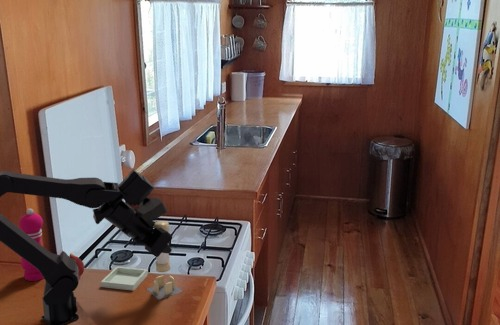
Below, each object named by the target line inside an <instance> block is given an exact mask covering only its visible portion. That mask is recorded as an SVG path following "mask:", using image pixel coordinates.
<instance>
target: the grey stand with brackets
mask: <svg viewBox="0 0 500 325" xmlns="http://www.w3.org/2000/svg"><path fill="white" fill-rule="evenodd" d="M164 276H165V275H164V274H163V275H159V276H156V277H155V278H156V279H155V280H153V286H151V287H149V288H146V291H148V292H149V293H150V294H151V295H153V296H154V298H156V299H157V300H163V299H165V298H168V297H172V296H174V295H177V294H182V293H183V292H184V291H183V290H182V289H180V288H179V287H178V286H177V285H176V283H175V282H176V281H175V278H174V277H173V276H172V275H169V281H167V282H165V277H164Z"/></svg>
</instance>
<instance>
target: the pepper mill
mask: <svg viewBox="0 0 500 325" xmlns="http://www.w3.org/2000/svg"><path fill="white" fill-rule="evenodd" d="M43 224H44V219H43V217H42V216H41V215H40V214H38V213H34V209H33V208H27V209H26V214H24V215H22V216H21V217H20V219H19V222H18V228H20V229H21V230H22V231H23V232H25V233H26V234H27V235H29V236H30V237H31V238H32V239H34V240H35V241H36V242H38V243H39V244H40V245H42V246H43V244H42V240H41V236H43V232H42V231H43V230H42V228H43ZM20 266H21V268H22V269H23V270H24V271H23V278H24V280H25V281H29V282H37V281H41V280H43V279H44V277H43V276H42V274H41V273H40V271H39V270H38V269H37V268H35V267H34V266H33V265H31V264H30V263H29V262H27V261H26V260H25V259H23V258H22V257H21V260H20ZM44 280H45V279H44Z"/></svg>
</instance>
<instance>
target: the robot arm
mask: <svg viewBox="0 0 500 325" xmlns="http://www.w3.org/2000/svg"><path fill="white" fill-rule="evenodd" d="M155 189H156V187H155V185H154V184H152V182H151V181H150V180H149V179H148V178H147V177H145V175H142V174H140V173H139V172H137V171H136V169H131V171H130V172H128V175H127V176H126V177H125V178H124V179H123V180H122V181H121V182H120V183H119V182H111V181H109V182H108V181H103V179H100V178H98V177H78V178H72V179H68V178H67V179H64V178H56V177H48V176H41V175H35V174H27V173H18V172H13V171H10V170H3V171H0V198H1V197H2V196H4V195H5V194H7V193H11V194H22V195H30V196H39V197H45V198H52V199H53V198H55V199H63V200H66V201H69V202H71V203H74V204H76V205H79V206H82V207H86V208H89V209H92V212H93V215H92V218H93V220H94V222H95V224H96V225H100V224H101V223H102V221H103V220H104V219H105V220H106V221H107V222H109V223H110V224H112V225H114V227H116V228H117V229H119V230H120V232H121V233H123V234H124V235H126V236H127V237H128V238H131V239H132V240H133V241H134V242H136V243H137V244H141V245H144V249H145V250H146V251H147V252H148V253H150V254H151V255H152V256H154V257H155V258H156V257H158V256H160V254H161V253H168V254H169V255H170V254H171V253H172V252H173V249H172V248H171V246H170V245H168V243H170V242H172V239H173V234H171V233H170V231H168V232H167V231H166V230H164V229H162V228H154V225H155V222H154V221H156V220H157V219H159V218H161V216H163V215H166V214H167V212H168V210H167V208H166V206H165V204H164V202H163V200H161V199H159V198H158V197H153V196H151V197H150V198H149V197H148V196H149V195H150V194H152V192H153V191H155ZM131 206H133V207H131ZM136 206H138V207H139V208H137V209H136V208H134V207H136ZM0 243H2V244H3V245H5V246H6V247H7V248H9V249H10V250H11V251H13V252H14V253H15V254H17V255H18V256H20V258H21V259H22V258H23V259H25V260H26V261H27V262H29V263H30V264H31V265H33V266H34V267H35V268H37V269H38V270H39V271H40V273H41V274H42V276H43V277H44V281H45V283H44V289H43V295H42V307H43V316H41V320H42V321H43V322H44V323H46V325H66V324H69V323H71V322H74V321H75V320H78V319H80V315H79V314H78V304H77V297H76V296H75V294H74V293H75V292H74V291H75V290H76V289H77V288H78V286H79V278H80V277H79V269H78V266H77V264H76V260H75V259H72V258H70V257H69V256H70V255H68V253H67V252H66V251H64V250H63V251H61V252H60V253H59V254H56V253H53V252H51V251H49V250H48V249H47V248H46V247H44V246H43V244H42V245H40V244H39V243H38V242H36V241H35V240H34V239H32V238H31V237H30V236H29V235H27V234H26V233H25V232H23V231H22V230H21V229H20V227H19V226H17V225H16V224H14V223H13V222H12V221H11V220H9V219H8V218H7V217H5V215H3V213H1V212H0Z"/></svg>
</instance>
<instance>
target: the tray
mask: <svg viewBox="0 0 500 325" xmlns="http://www.w3.org/2000/svg"><path fill="white" fill-rule="evenodd" d="M148 276H149V270H148V269H145V268H143V269H142V268H133V267H126V266H116V267H114V269H113V270H112V271H111V272H109V273H108V274H107V275H106V276H105V277H104V278H103V279H102V280H101V281H100V287H101V288H106V289H107V288H108V289H115V290H116V289H117V290H124V291H125V290H126V291H133V292H134V291H135V290H136V289H137V288H138V287H139V286H140V285H141V283H142V282H143V281H144V280H145V279H146V278H147V277H148Z"/></svg>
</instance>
